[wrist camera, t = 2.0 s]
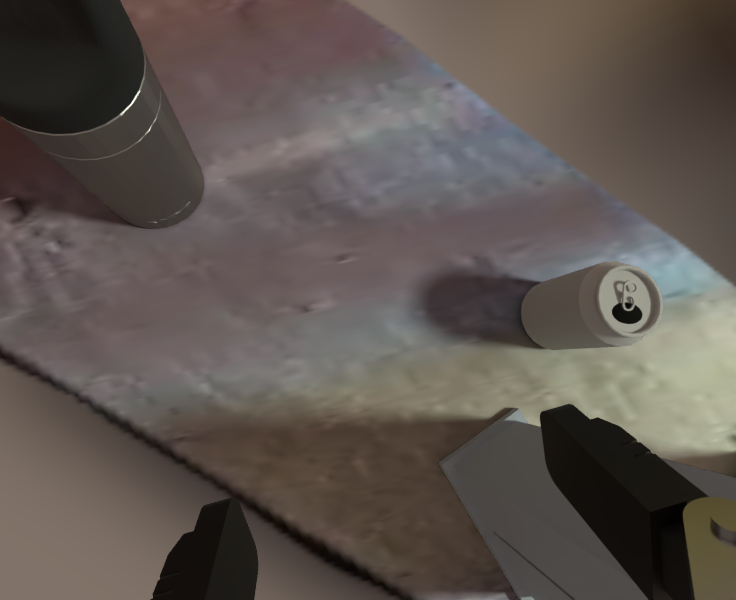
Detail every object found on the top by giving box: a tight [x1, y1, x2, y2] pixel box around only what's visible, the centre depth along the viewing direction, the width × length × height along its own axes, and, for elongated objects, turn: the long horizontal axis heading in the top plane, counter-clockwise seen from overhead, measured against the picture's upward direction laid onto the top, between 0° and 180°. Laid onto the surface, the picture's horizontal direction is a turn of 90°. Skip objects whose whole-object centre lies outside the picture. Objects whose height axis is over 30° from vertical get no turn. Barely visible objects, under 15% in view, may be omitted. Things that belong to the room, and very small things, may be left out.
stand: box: [438, 408, 736, 600], centre depth 27 cm, size 16×10×32 cm, turn 31°
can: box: [521, 261, 663, 350], centre depth 41 cm, size 8×8×12 cm
